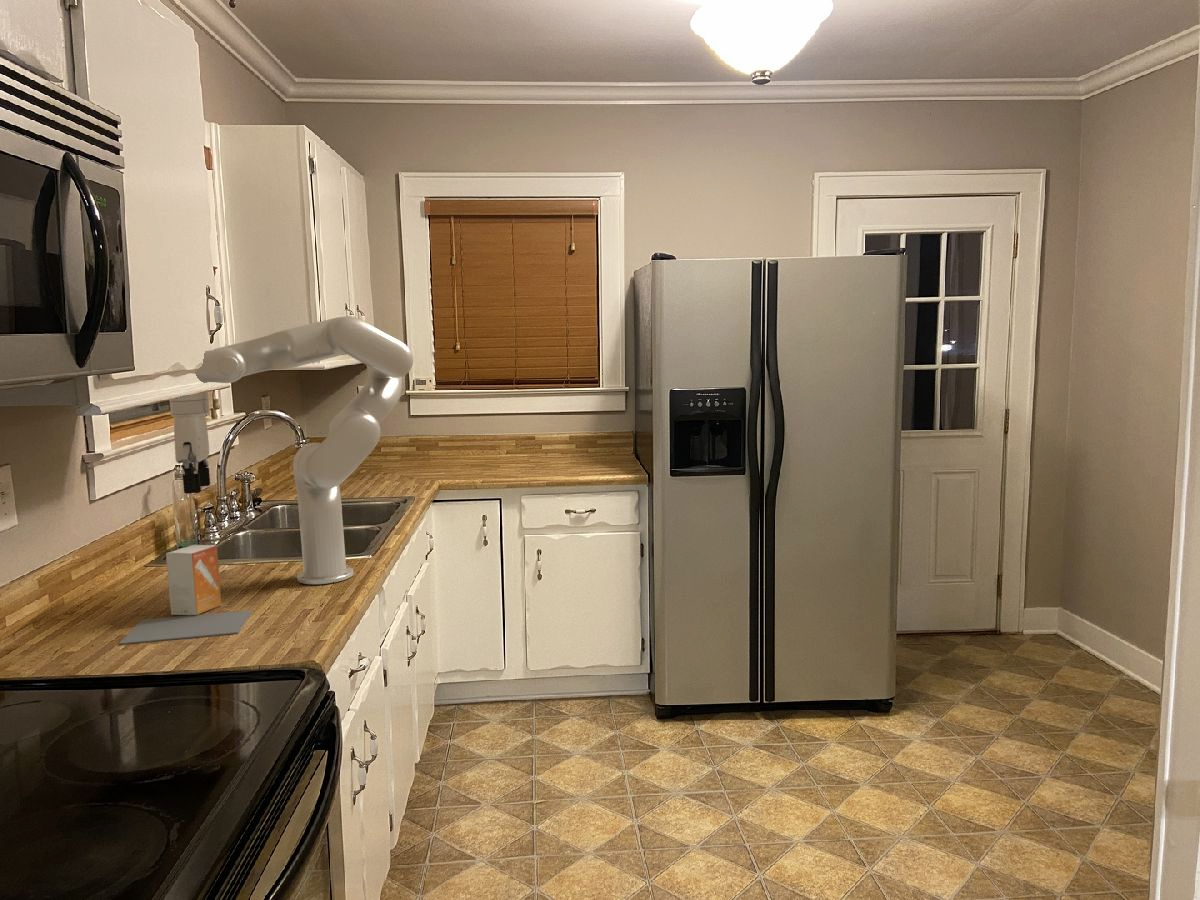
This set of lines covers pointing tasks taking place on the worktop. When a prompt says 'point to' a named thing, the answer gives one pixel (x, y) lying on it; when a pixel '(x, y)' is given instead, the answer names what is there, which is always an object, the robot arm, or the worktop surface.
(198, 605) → the small box
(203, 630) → the mat
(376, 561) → the worktop surface
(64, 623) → the worktop surface
